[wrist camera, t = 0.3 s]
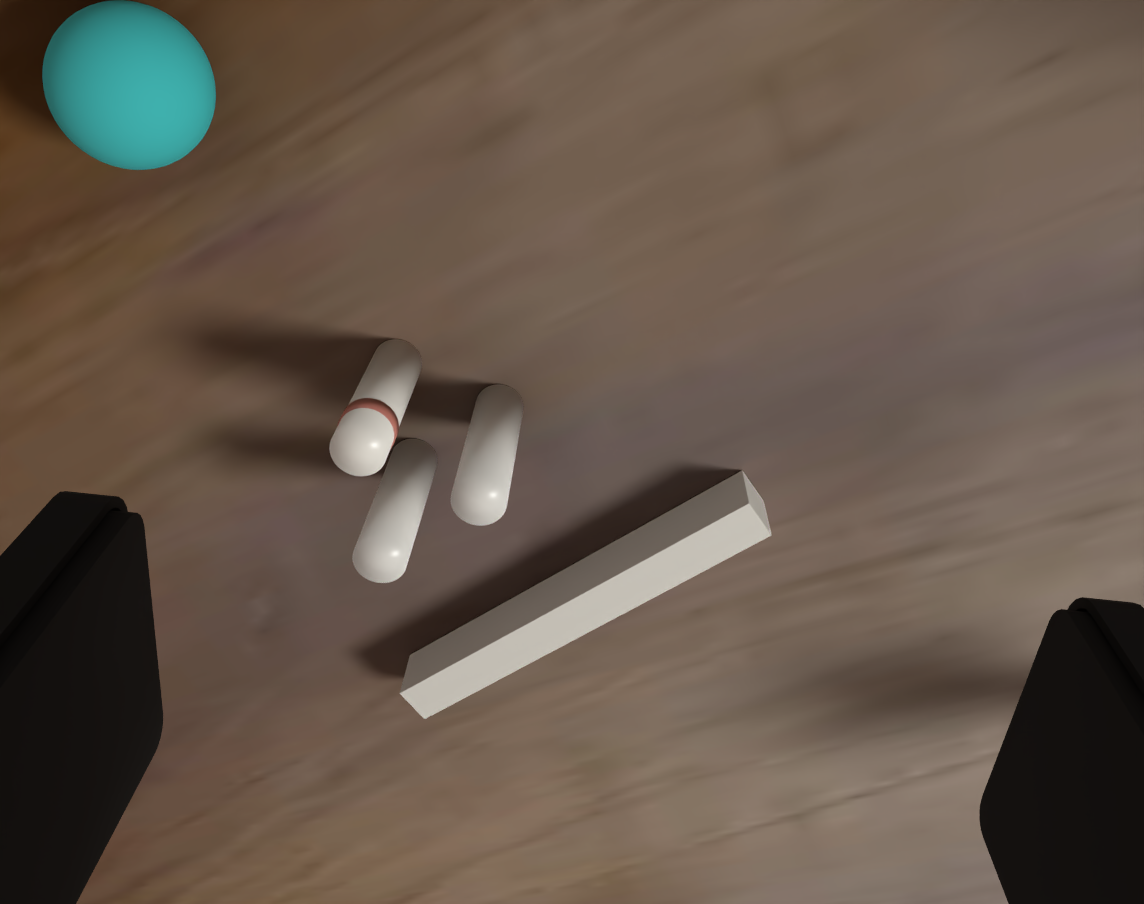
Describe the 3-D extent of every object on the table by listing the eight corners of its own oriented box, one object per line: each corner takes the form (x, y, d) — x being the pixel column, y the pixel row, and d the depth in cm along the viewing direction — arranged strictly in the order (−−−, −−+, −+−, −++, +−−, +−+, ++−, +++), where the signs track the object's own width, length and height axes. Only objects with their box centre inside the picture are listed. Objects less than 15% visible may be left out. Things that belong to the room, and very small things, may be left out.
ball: (82, -22, 42) (5, -7, 36) (238, 9, 42) (184, 29, 37) (87, 134, 44) (16, 170, 39) (234, 162, 45) (182, 201, 40)
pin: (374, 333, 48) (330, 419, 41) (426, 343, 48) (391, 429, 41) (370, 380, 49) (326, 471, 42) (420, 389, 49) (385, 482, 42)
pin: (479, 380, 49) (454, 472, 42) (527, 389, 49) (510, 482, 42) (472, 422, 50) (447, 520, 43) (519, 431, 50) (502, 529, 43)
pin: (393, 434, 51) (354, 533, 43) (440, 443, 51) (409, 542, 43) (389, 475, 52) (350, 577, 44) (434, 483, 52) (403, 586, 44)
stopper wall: (409, 654, 57) (399, 693, 54) (742, 470, 51) (749, 503, 48) (433, 680, 57) (424, 719, 55) (763, 501, 52) (771, 535, 49)
